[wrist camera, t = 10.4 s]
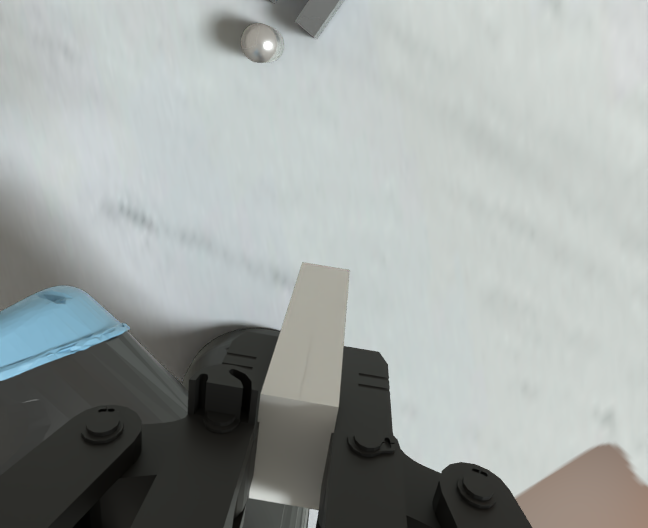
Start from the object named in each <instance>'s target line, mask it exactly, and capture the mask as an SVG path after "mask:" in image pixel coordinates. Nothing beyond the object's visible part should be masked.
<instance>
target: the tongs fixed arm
mask: <svg viewBox="0 0 648 528" xmlns="http://www.w3.org/2000/svg"><path fill="white" fill-rule="evenodd" d="M343 1H344V0H309V1H308V2H307V4H306V5H305V7H304V8H303V10H302V11H301V13H300V14H299V16H298V17H297V18H296V20H295V22H296V23H297V24H298V25H300V26H301V27H302V28H303V29H304V30H305V31H307V32H308V33H309V34H310V35H311V36H312V37H314V38H316V39H317V38H318V37H319V35H320V34H321V33H322V31H323V30H324V28H325V27H326V25H327V24H328V23H329V21H330V20H331V18H332V17H333V16H334V14H335V13H336V11H337V10H338V8H339V7H340V6H341V4H342V3H343ZM241 47H242V51H243V53H244V54H245V56H246V57H247V58H248V59H250V60H251V61H253V62H257V63H270V62H274V61H276V60H277V59H279V58H280V56H281V55H282V53H283V50H284V41H283V38H282V35H281V34H280V33H279V31H278V30H276V29H275V28H273V27H270V26H267V25H265V24H261V23H254V24H251V25H249V26H248V27H247V28H246V29H245V30H244V32H243V34H242V37H241Z"/></svg>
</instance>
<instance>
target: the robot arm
mask: <svg viewBox="0 0 648 528" xmlns="http://www.w3.org/2000/svg"><path fill="white" fill-rule="evenodd" d="M349 272H350V270H347V269H341V268H334V267H328V266H322V265H316V264H310V263H304V262H302V265H301V268H300V271H299V275H298V278H297V281H296V284H295V287H294V290H293V293H292V297H291V300H290V303H289V306H288V309H287V312H286V315H285V319H284V322H283V325H282V328H281V331H280V332H279V331H274V330H268V329H243V330H237V331H233V332H230V333H227V334H224V335H222V336H220V337H218V338H216V339H214V340H213V341H211V342H210V343H208V344H207V345H206V346H205V347H204V348H203V349H202V350H201V351H200V352H199V353H198V354H197V356H196V357H195V359H194V360H193V362H192V364H191V366H190V367H189V369H188V371H187V373H186V375H185V377H184V380H183V383H182V384H181V383H180V382H179V381H178V380H177V379H176V378H175V377H174V376H173V375H172V374H171V373H169V372H168V371H167V370H166V369H165V368H164V367H163V366H162V365H161V364H160V363H159V362H158V361H157V360H156V359H155V358H154V357H153V356H152V355H151V354H150V353H149V352H148V351H147V350H146V349H145V348H144V347H143V346H142V345H141V344H140V343H139V342H138V341H137V340H136V339H135V338H134V337H133V336H132V335H131V334H130V333H129V332H128V331H127V330H129V329H130V327H129V326H128V325H127V324H125V323H120V322H119V321H118V320H117V319H116V318H115V317H113V316H112V315H111V314H110V313H109V312H108V311H107V310H106V309H104V308H103V307H102V306H101V305H100V304H99V303H98V302H97V301H96V300H94V299H93V298H92V297H91V296H90V295H89V294H87V293H86V292H85V291H83V290H81V289H79V288H76V287H72V286H54V287H51V288H47V289H44V290H42V291H39V292H37V293H35V294H33V295H31V296H29V297H27V298H25V299H23V300H21V301H19V302H17V303H15V304H14V305H12V306H10V307H8V308H6V309H4V310H2V311H1V312H0V528H307V527H308V518H309V509H315V510H319V512H318V518H317V524H316V528H532V527H531V525H530V523H529V521H528V520H527V519H526V516H525V515H524V513H523V511H522V510H521V508H520V506H519V505H518V503H517V501H516V500H515V498H514V496H513V495H512V493H511V491H510V490H509V489H508V487H507V486H506V485H505V484H504V482H503V481H502V480H501V479H500V478H499V477H497V476H496V475H495V474H493V473H492V472H490V471H489V470H487V469H485V468H483V467H480V466H478V465H475V464H470V463H463V462H460V463H455V464H450V465H449V466H447V467H446V468H445V469H444V470H442V473H439V472H436V471H434V470H432V469H430V468H427V467H425V466H423V465H421V464H419V463H417V462H415V461H413V460H412V459H411V458H409V457H408V456H407V455H406V454H404V452H403V451H402V450H401V449H400V446H399V443H398V440H397V439H396V438H395V437H394V436H393V432H392V417H391V403H390V392H389V380H388V379H389V375H388V364H387V363H386V361H385V360H384V358H383V357H382V356H381V354H380V353H379V352H376V351H370V350H364V349H358V348H352V347H346V346H344V335H345V322H346V310H347V297H348V285H349Z"/></svg>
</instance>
